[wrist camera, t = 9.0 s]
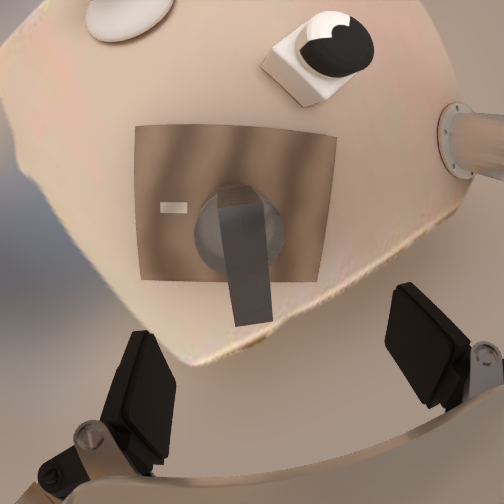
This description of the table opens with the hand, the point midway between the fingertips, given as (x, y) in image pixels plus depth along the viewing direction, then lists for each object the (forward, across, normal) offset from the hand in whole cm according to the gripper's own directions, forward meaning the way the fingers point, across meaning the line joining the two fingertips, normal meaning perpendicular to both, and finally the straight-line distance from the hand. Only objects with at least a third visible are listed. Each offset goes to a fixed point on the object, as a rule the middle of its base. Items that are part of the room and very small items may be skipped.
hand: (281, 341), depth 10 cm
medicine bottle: (+24, -9, -15) cm, 30 cm away
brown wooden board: (+24, +1, 0) cm, 24 cm away
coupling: (+16, +1, +1) cm, 16 cm away
